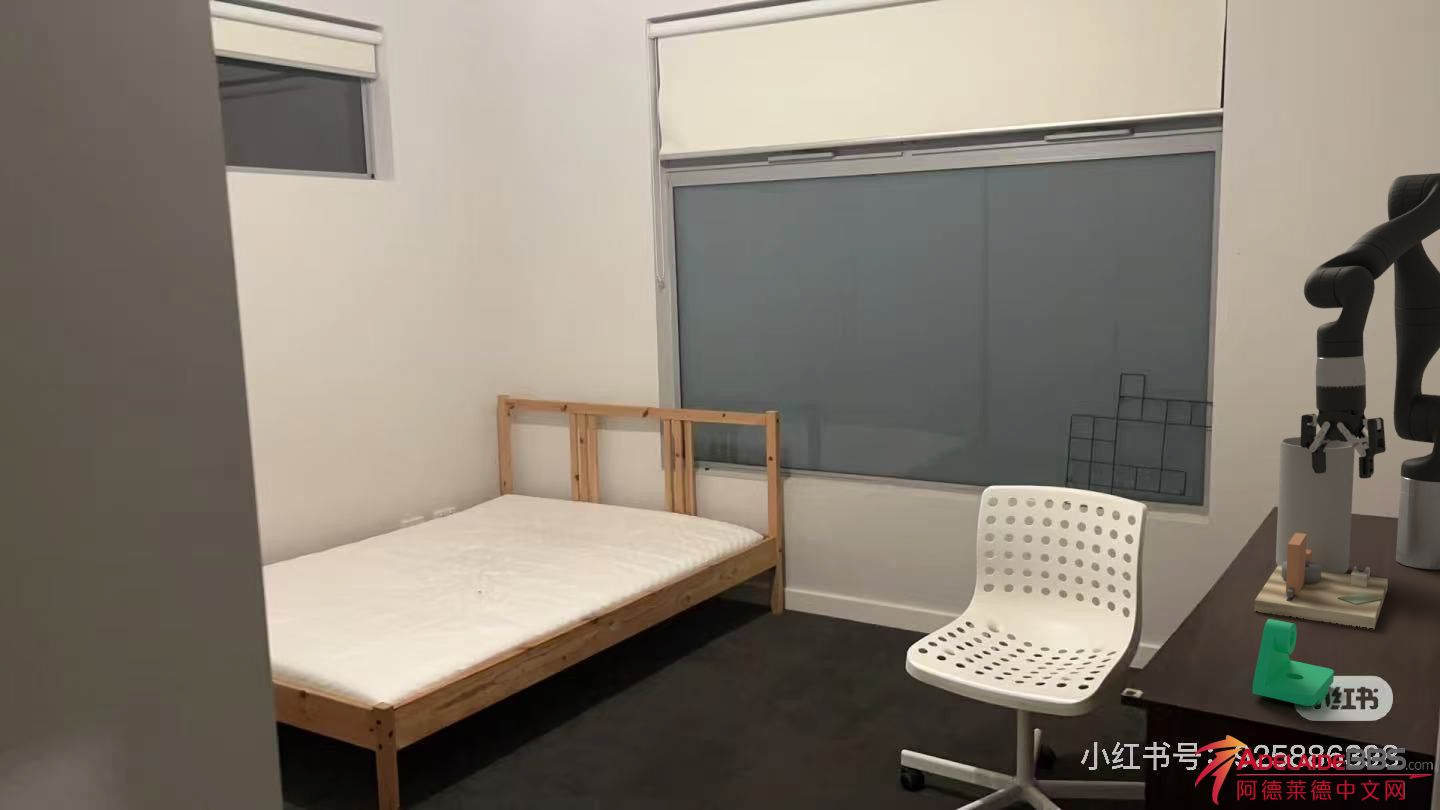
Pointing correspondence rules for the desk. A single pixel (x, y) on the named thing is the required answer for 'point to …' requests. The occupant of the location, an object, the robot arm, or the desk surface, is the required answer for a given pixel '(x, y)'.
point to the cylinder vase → (1316, 503)
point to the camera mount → (1288, 669)
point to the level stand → (1328, 597)
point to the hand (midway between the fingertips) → (1342, 475)
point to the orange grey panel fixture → (1299, 566)
